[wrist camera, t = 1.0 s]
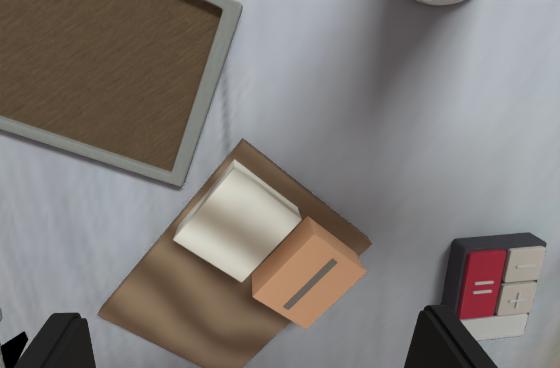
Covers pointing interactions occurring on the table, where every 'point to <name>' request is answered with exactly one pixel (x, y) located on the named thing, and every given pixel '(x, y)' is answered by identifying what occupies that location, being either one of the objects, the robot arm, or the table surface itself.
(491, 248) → the red black flat box
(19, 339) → the toy airplane
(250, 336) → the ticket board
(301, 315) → the tan box with slot
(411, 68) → the table surface
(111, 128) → the framed hanging board
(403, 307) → the table surface
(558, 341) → the table surface
